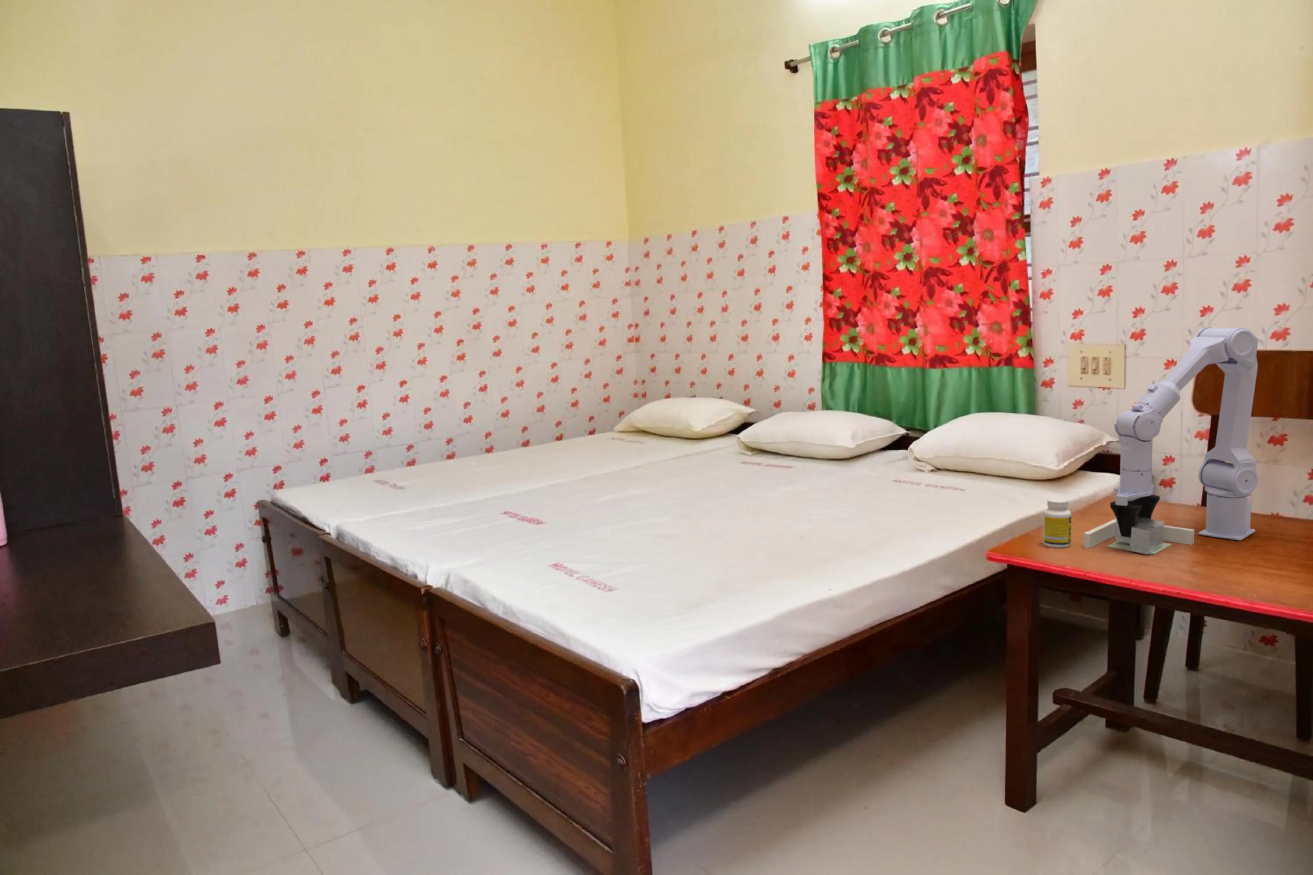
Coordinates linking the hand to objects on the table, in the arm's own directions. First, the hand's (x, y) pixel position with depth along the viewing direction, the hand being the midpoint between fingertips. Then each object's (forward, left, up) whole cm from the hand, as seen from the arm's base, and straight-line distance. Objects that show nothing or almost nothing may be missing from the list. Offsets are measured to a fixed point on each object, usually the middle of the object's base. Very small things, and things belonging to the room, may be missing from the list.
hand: (1134, 532), depth 183 cm
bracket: (+2, +1, -2) cm, 3 cm away
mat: (0, +1, -3) cm, 3 cm away
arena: (0, +1, -3) cm, 3 cm away
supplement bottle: (+9, -12, -3) cm, 15 cm away
